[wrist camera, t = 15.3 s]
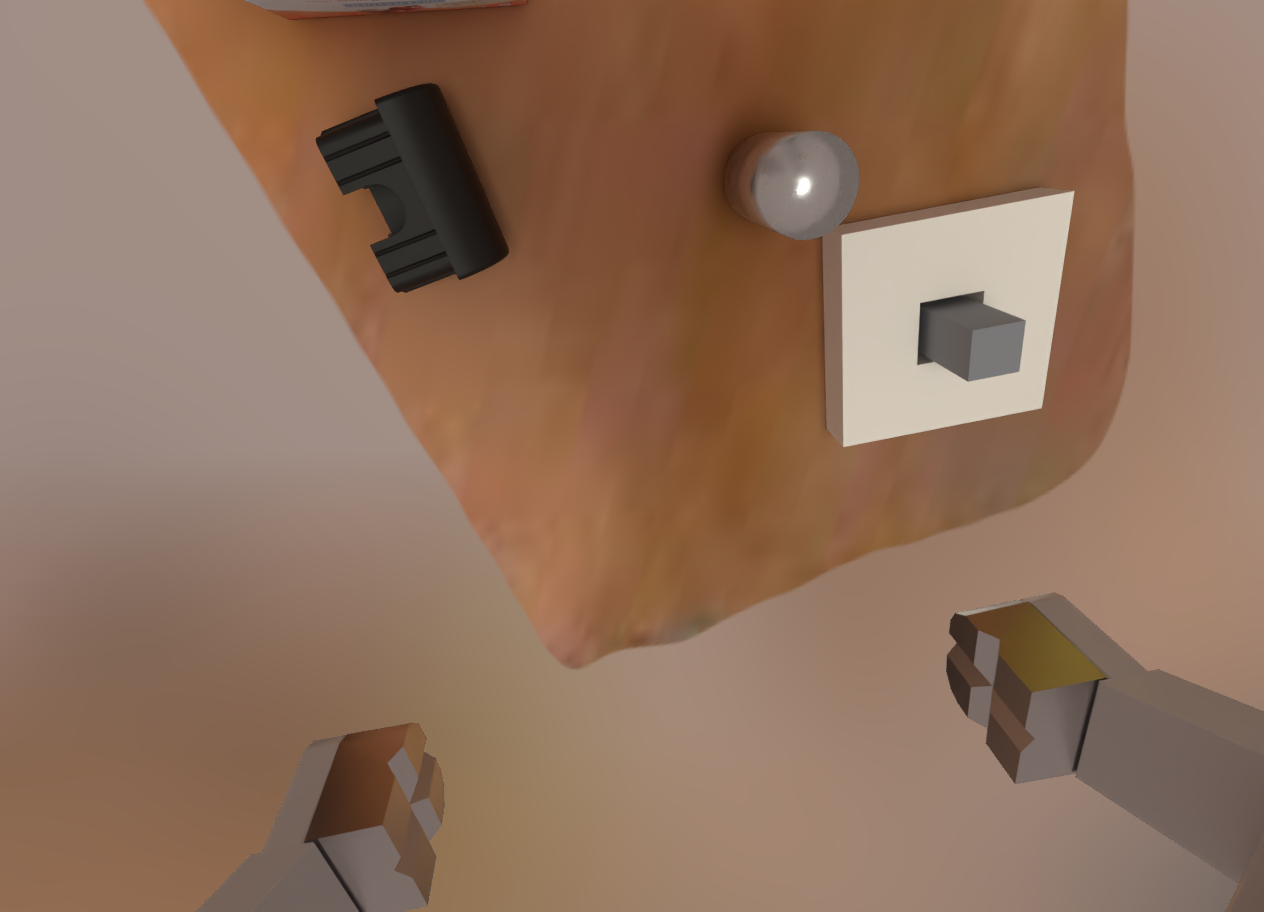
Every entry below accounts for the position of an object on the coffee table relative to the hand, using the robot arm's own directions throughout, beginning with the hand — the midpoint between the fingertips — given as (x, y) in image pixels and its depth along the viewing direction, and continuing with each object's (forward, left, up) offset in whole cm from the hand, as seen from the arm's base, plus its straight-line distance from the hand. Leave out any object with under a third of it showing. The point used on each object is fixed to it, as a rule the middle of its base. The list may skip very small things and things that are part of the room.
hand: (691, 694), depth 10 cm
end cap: (-6, -9, -39) cm, 41 cm away
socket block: (+9, +25, -39) cm, 47 cm away
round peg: (-3, +13, -39) cm, 41 cm away
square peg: (+9, +25, -39) cm, 47 cm away
